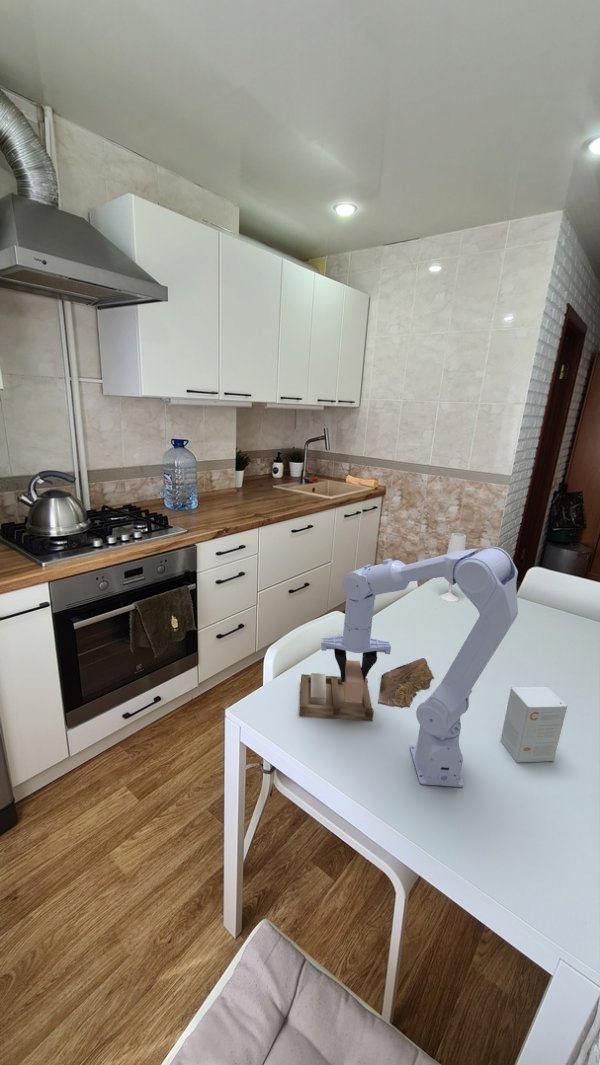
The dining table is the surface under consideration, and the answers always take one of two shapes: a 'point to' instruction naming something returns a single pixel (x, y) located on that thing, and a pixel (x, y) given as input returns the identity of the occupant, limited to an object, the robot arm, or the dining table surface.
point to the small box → (533, 724)
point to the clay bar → (353, 682)
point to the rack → (331, 699)
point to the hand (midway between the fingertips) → (352, 679)
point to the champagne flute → (455, 545)
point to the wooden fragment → (404, 683)
